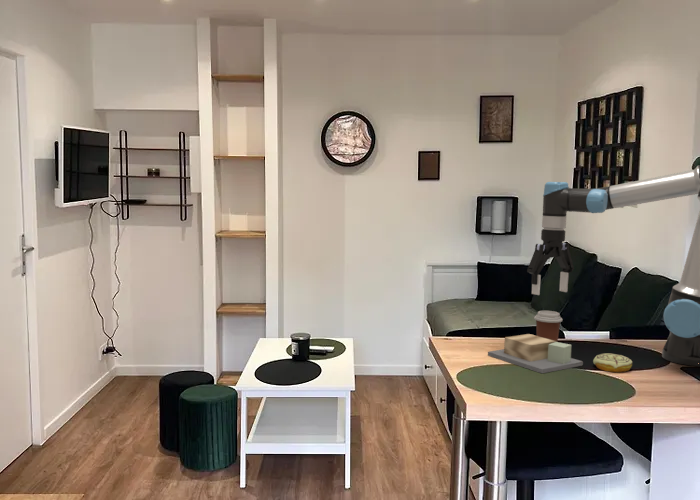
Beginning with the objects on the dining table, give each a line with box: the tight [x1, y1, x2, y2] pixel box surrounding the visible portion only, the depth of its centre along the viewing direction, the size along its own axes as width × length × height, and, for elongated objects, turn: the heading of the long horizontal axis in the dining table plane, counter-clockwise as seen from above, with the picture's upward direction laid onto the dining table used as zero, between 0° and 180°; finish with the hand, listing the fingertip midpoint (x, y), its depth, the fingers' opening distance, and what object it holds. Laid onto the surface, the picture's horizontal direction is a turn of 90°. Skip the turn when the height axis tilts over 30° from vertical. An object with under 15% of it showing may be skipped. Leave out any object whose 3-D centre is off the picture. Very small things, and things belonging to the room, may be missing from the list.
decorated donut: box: [592, 352, 633, 373], centre depth 197 cm, size 10×11×4 cm
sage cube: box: [548, 342, 572, 364], centre depth 199 cm, size 5×5×5 cm
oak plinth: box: [503, 333, 556, 361], centre depth 205 cm, size 11×11×5 cm
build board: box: [487, 348, 584, 374], centre depth 204 cm, size 22×18×1 cm
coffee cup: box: [533, 310, 563, 342], centre depth 219 cm, size 9×9×12 cm
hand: (549, 292), depth 218 cm, fingers open, 13 cm apart
